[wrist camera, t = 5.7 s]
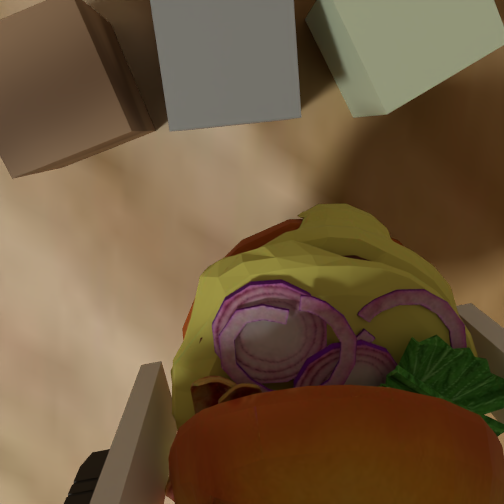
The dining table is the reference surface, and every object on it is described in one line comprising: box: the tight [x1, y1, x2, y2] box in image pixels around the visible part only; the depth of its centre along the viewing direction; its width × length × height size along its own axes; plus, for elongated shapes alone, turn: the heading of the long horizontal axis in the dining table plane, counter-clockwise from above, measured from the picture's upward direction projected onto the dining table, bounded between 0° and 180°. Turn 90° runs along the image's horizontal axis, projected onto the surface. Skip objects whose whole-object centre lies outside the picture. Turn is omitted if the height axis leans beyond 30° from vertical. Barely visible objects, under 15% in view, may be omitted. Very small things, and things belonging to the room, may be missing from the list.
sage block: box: [305, 0, 504, 118], centre depth 18 cm, size 5×5×5 cm
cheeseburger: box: [165, 204, 504, 504], centre depth 13 cm, size 10×11×10 cm
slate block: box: [150, 0, 301, 131], centre depth 18 cm, size 5×5×5 cm
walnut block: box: [0, 0, 156, 179], centre depth 18 cm, size 5×5×5 cm
